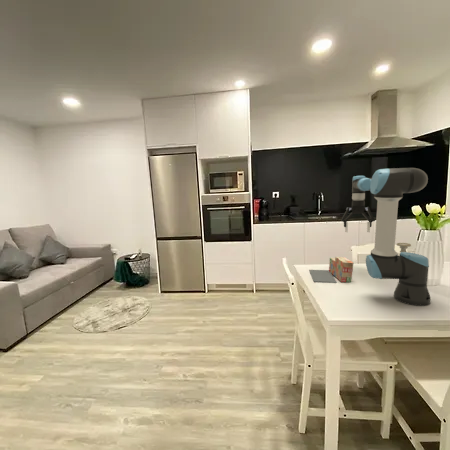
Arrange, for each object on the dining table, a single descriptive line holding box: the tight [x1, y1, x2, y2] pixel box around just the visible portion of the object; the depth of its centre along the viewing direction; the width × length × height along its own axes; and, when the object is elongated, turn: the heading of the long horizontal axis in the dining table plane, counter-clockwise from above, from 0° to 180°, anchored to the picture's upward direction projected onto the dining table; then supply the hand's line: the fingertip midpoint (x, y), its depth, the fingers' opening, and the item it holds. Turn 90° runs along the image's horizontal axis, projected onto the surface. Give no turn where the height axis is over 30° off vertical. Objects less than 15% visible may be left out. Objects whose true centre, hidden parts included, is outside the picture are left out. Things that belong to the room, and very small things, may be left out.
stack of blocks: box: [328, 256, 354, 283], centre depth 172 cm, size 21×6×12 cm, turn 178°
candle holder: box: [396, 242, 412, 254], centre depth 171 cm, size 9×9×20 cm
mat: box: [308, 269, 337, 284], centre depth 174 cm, size 24×13×1 cm, turn 169°
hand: (357, 232), depth 179 cm, fingers open, 13 cm apart
